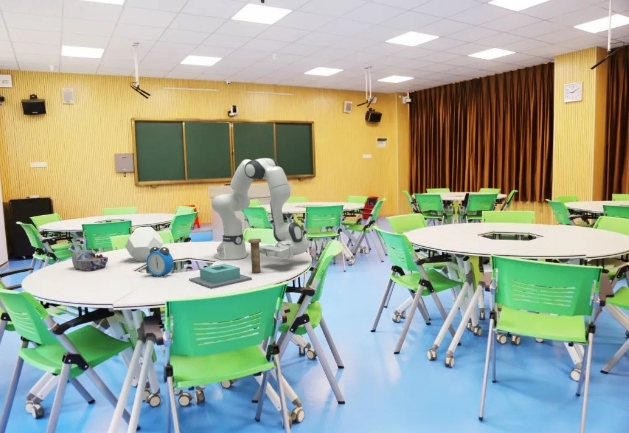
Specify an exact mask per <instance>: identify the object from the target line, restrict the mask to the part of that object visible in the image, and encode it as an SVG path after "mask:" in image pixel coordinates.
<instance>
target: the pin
mask: <svg viewBox="0 0 629 433" xmlns="http://www.w3.org/2000/svg"><path fill="white" fill-rule="evenodd" d="M261 242H262V239H261V238H250V239H248V243H249V244H250V256H251V257H250V258H251V274H260V273H261V271H262V270H261V253H260V250H259V247H260V243H261Z"/></svg>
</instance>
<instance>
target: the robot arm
mask: <svg viewBox="0 0 629 433" xmlns="http://www.w3.org/2000/svg"><path fill="white" fill-rule="evenodd" d="M254 180H265V181H266V182H267V186H268V189H269V190H268V191H269V193H270V194H269V195H270V200H269V202H270V203H269V204H270V205H269V206H270V212H271V217H272V218H271V219H272V225H273V229H272V230H273V237H274V239H275V241H277V242H276V244H275V245H272V244H270V245H269V244H267V245H259V250H260V254H263V255H265V256H266V257H277V258H279V259H282V258H283V259H284V258H293V256H299V255H301V254H303V253H306V252H307V250H308V249H309V242H308V240H307V238H305V237H304V235H303V234H304V233H303V230H302V227H301V225H300V224H299V223H298V222H289V223H286V224H285V221H284V215H283V206H284V205H285V203H286V202H288V200H289V198H290V196H291V187H290V184H289V181H288V177H287V175H286V173H285V171H284V168H282V167H280V166H279V163H278V161H277V160H276V159H275V158H272V157H262V158H261V157H260V158H257V159H252V160H251V159H246V158H245V159H243V160H242V161H241V162H240V163H239V165H238V166H237V168H236V170H235V173H234V174H233V176H232V179H231V181H230V185H229V186H230V187H231V189H232V192H231V193H222V194H218V195H217V196H214V197H213V198H212V202H211V207H212V209H213V211H215V212H216V213H217V214H218V215H219V217H220V218H221V222H222V227H223V235H222V241H221V243H220V244H218V246H217V249H216V250H217V252H216V253H215V254H213V257H215V258H216V259H218V260H220V261H225V260H226V261H227V260H228V261H231V260H239V259H244V258H246V257H247V256H249V253H247V249H246V242H245V241H244V233H243V222H242V220H241V219H240V218H238V217H237V216H236V212H240V211H244V210H246V209H249V207H250V204H251V199H250V196H249V195H248V194H249V189H250V187H251V185H252V183H253V181H254Z"/></svg>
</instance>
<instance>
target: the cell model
mask: <svg viewBox="0 0 629 433" xmlns="http://www.w3.org/2000/svg"><path fill="white" fill-rule="evenodd" d="M108 260H109V257H107V256H104V255H103V254H102V253H100V254H95V253H94V252H93V251H92V250H91V249H78V250H75V251H74V252H72V255H71V262H72V265H73V268H74V269H79V270H81V271H86V272H87V271H88V272H90V271H97V270H101V269H103V268H105V267H106V266H107V263H108V262H109V261H108Z"/></svg>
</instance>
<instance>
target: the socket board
mask: <svg viewBox="0 0 629 433" xmlns="http://www.w3.org/2000/svg"><path fill="white" fill-rule="evenodd" d="M251 280H253V278H252V277H250V276H247V275H245V274H241V268H240V267H239V266H236V265H231V264H227V263H220V264H217V265H210V266H206V267H200V268H199V276H197V277H196V276H195V277H192V278H189V279H188V281H189V282H192V283H194V284H197V285H200V286H202V287H205V288H207V289H210V290H212V289H217V288H221V287H225V286H229V285H230V286H231V285H234V284H238V283H243V282H248V281H251Z"/></svg>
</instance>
